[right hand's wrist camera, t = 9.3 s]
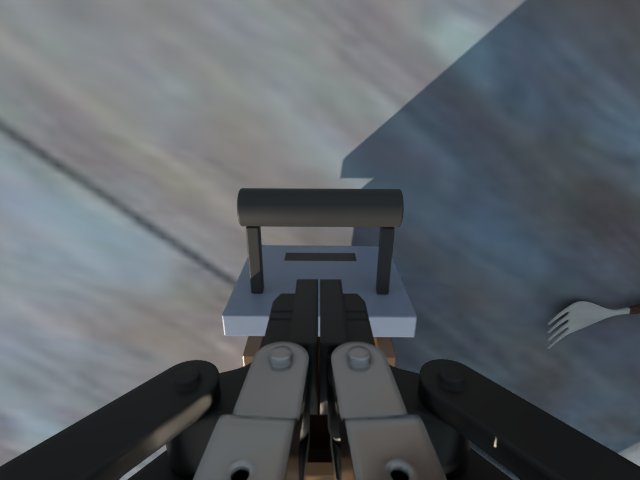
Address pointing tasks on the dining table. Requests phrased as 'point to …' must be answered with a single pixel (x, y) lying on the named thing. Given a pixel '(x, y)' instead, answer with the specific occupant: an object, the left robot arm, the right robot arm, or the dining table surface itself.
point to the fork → (584, 317)
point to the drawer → (320, 270)
